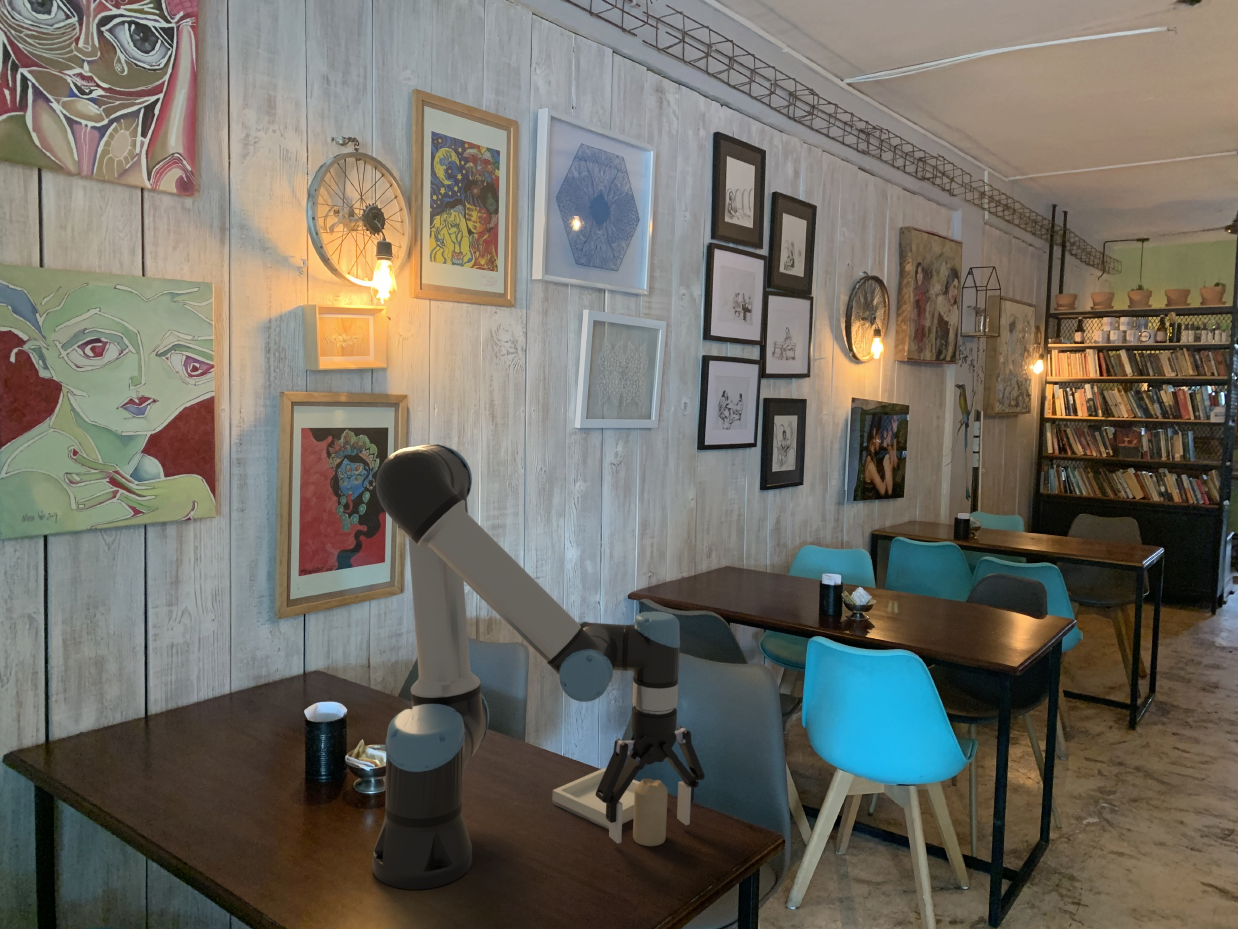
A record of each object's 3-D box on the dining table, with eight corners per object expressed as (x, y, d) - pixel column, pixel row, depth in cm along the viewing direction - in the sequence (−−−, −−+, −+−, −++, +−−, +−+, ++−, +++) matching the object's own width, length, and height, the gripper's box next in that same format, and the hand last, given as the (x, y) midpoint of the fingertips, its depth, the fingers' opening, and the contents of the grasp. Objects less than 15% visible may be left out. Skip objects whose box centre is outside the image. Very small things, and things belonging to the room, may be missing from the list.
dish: (661, 804, 161) (661, 790, 160) (610, 830, 150) (610, 816, 150) (604, 780, 170) (604, 767, 170) (552, 803, 159) (552, 790, 159)
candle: (666, 832, 150) (668, 775, 150) (664, 848, 145) (667, 789, 144) (634, 829, 151) (636, 772, 150) (631, 845, 145) (633, 786, 145)
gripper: (701, 689, 156) (697, 805, 157) (577, 710, 143) (573, 837, 145) (728, 702, 149) (722, 823, 151) (600, 726, 137) (596, 858, 138)
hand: (649, 830), depth 148 cm, fingers open, 13 cm apart
